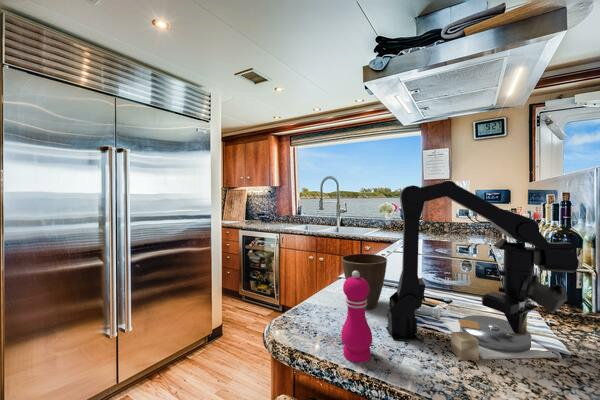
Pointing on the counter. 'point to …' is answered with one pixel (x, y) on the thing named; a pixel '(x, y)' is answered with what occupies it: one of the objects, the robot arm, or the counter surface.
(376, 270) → the plant pot
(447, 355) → the counter surface
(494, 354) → the base board
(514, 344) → the crank wheel
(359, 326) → the pepper mill
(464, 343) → the link block
